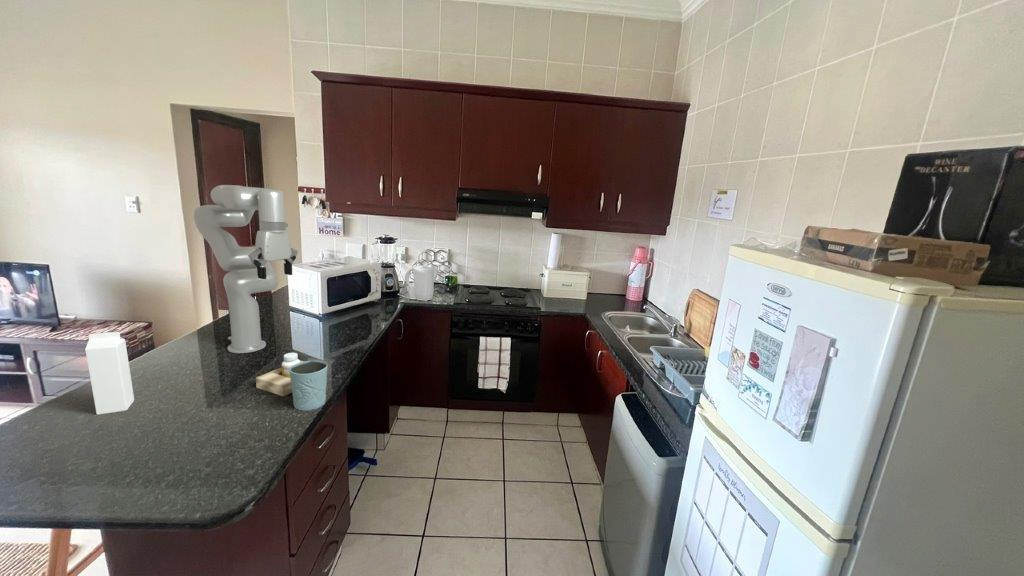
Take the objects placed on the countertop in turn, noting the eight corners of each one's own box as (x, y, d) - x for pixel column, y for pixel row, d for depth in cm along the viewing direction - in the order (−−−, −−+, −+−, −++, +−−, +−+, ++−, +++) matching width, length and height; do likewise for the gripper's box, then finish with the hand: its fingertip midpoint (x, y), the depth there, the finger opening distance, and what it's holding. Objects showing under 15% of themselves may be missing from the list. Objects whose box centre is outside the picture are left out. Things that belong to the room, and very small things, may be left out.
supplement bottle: (287, 377, 129) (286, 351, 127) (304, 378, 130) (302, 352, 127) (279, 385, 124) (277, 357, 122) (296, 385, 124) (295, 358, 122)
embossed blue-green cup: (290, 414, 108) (288, 376, 106) (291, 398, 117) (289, 362, 114) (329, 408, 113) (328, 371, 110) (328, 392, 122) (327, 358, 119)
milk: (126, 410, 104) (115, 335, 99) (96, 415, 101) (82, 338, 96) (134, 400, 109) (124, 328, 105) (105, 404, 106) (93, 330, 102)
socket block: (256, 387, 121) (255, 377, 120) (299, 369, 136) (299, 360, 135) (283, 396, 117) (282, 386, 116) (325, 376, 132) (324, 367, 131)
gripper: (287, 225, 136) (290, 271, 140) (239, 226, 120) (243, 278, 124) (303, 227, 134) (305, 274, 137) (255, 228, 118) (259, 281, 121)
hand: (275, 276), depth 131 cm, fingers open, 9 cm apart
